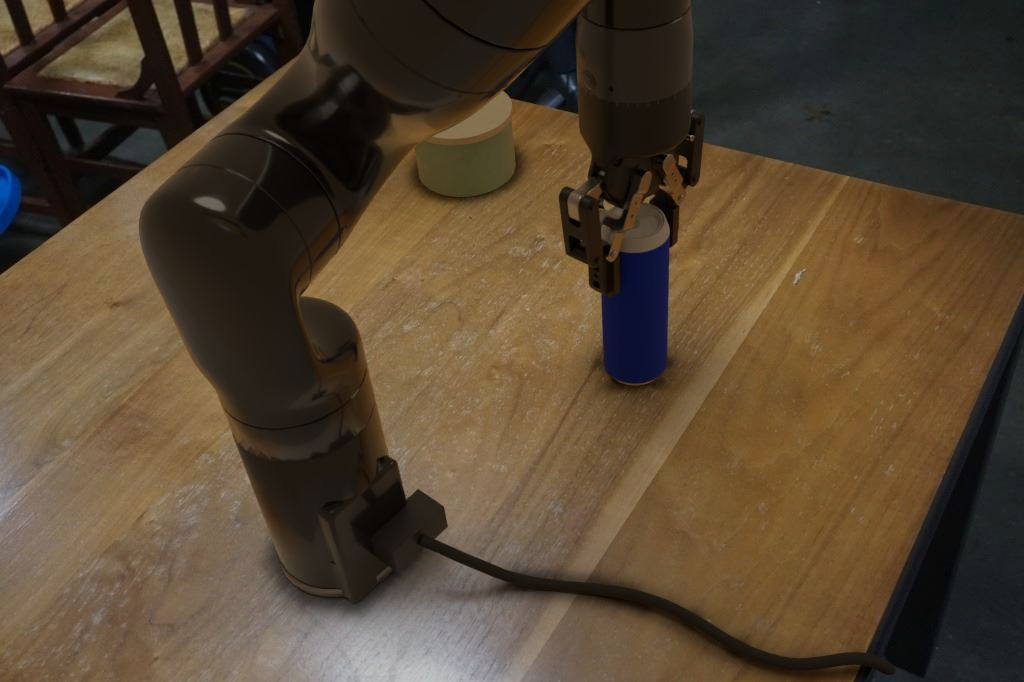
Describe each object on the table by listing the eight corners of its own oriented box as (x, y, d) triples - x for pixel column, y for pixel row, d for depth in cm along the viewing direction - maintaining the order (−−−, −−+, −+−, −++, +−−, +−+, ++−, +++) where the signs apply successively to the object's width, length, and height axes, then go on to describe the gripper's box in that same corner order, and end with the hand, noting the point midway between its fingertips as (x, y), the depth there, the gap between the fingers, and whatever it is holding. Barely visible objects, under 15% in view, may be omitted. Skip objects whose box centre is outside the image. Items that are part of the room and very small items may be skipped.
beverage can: (668, 346, 92) (671, 199, 81) (665, 390, 88) (668, 243, 78) (606, 343, 92) (601, 198, 82) (601, 387, 89) (595, 241, 78)
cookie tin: (538, 161, 113) (533, 101, 108) (470, 211, 108) (462, 150, 103) (464, 130, 118) (457, 71, 114) (396, 176, 113) (385, 117, 108)
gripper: (612, 137, 66) (616, 339, 77) (744, 38, 73) (730, 236, 85) (518, 100, 70) (535, 298, 81) (652, 10, 77) (651, 202, 88)
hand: (635, 265), depth 83 cm, fingers open, 6 cm apart
